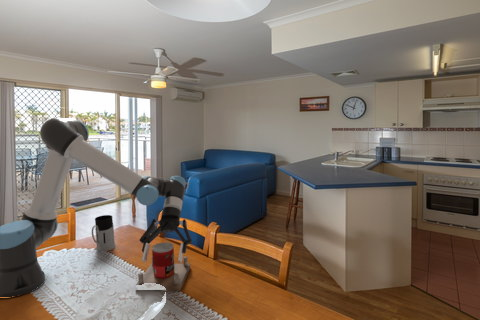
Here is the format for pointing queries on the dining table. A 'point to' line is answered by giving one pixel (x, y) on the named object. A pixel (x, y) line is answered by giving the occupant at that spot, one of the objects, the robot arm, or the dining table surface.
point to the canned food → (163, 260)
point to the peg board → (169, 283)
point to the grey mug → (104, 233)
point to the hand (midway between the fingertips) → (161, 261)
